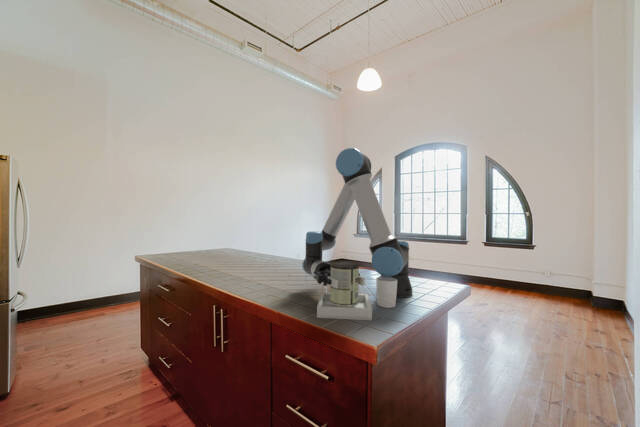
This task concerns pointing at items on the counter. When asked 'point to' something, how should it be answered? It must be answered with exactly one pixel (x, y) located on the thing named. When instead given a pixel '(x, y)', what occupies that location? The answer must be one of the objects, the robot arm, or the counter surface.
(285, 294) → the counter surface
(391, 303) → the white cup
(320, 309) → the tray
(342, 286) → the coffee can
